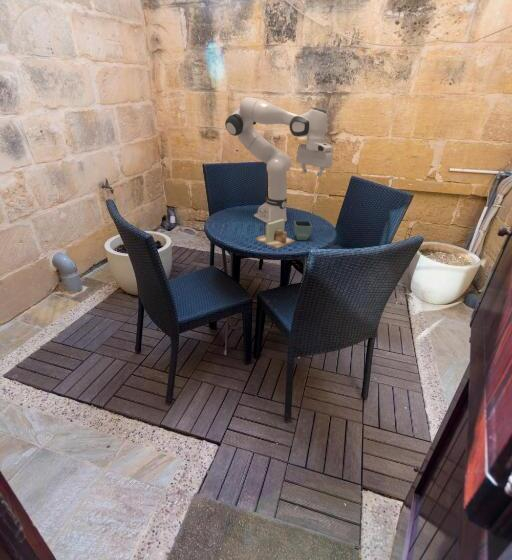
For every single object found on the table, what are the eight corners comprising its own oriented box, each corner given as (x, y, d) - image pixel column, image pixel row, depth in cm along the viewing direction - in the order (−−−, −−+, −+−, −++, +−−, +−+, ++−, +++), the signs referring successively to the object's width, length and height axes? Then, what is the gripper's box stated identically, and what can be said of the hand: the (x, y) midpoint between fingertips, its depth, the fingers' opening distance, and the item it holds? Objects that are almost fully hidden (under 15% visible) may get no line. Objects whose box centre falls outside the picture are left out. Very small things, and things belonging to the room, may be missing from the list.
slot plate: (265, 241, 170) (266, 223, 165) (280, 236, 177) (282, 218, 172) (268, 242, 168) (269, 224, 163) (283, 237, 176) (284, 219, 171)
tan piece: (255, 239, 174) (256, 227, 170) (273, 233, 182) (274, 222, 179) (276, 249, 164) (277, 236, 161) (294, 242, 173) (295, 230, 169)
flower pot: (307, 235, 181) (309, 220, 177) (310, 241, 174) (312, 226, 169) (292, 235, 181) (293, 220, 177) (294, 241, 173) (296, 226, 169)
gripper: (294, 143, 161) (292, 171, 168) (328, 148, 149) (324, 178, 155) (302, 142, 165) (300, 170, 172) (335, 147, 152) (331, 177, 159)
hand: (311, 174), depth 164 cm, fingers open, 8 cm apart
